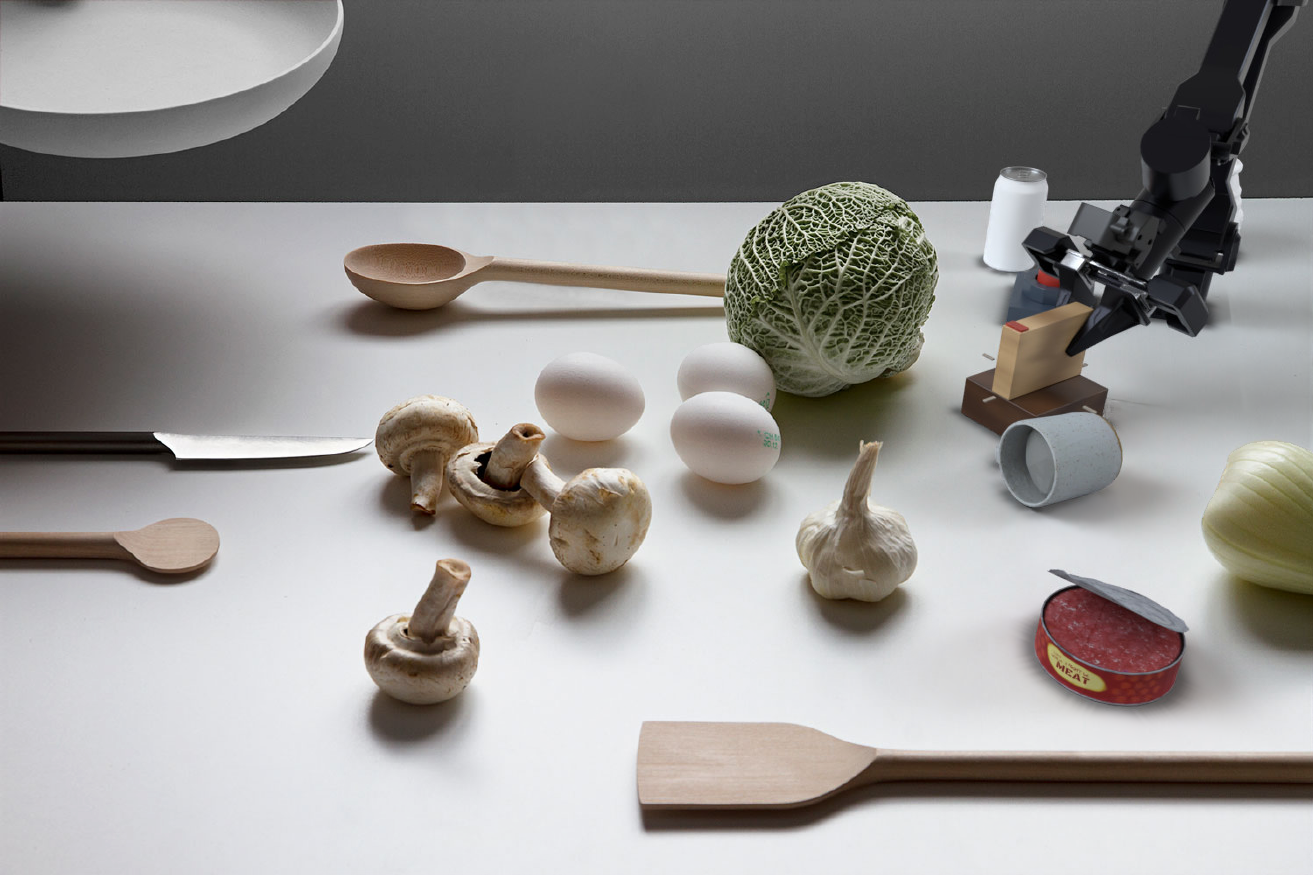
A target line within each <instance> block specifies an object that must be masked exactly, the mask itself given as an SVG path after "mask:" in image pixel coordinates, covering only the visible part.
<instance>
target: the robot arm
mask: <svg viewBox="0 0 1313 875" xmlns="http://www.w3.org/2000/svg"><path fill="white" fill-rule="evenodd" d="M1308 3H1309V0H1223V5H1222V9H1221V11H1220V14H1219V17H1218V19H1217V22H1216V24H1215V27H1214V29H1213V31H1212V33H1211V34H1212V35H1211V37H1210V39H1209V41H1208V44H1207V47H1206V49H1205V51H1204V54H1203V56H1202V59H1201V61H1200V64H1199V66H1198V68H1197V71H1196V72H1195V73H1194V74H1193V75H1191V76H1190V77H1188V78H1187V79H1185V80H1183V81H1182V82H1180V83H1179V84H1178V85H1176V87H1175V90H1174V92H1173V94H1172V96H1171V99H1170V100H1169V102H1168V105H1167V107H1165V106H1162V107H1161V108H1160V109H1159V112H1158V113H1157V115H1156V116H1155V118H1154V119H1153V120H1152V122H1151V123H1150V125H1149V126H1148V127H1147V130H1146V131H1145V132H1144V133H1143V134H1142V137H1141V139H1140V142H1139V143H1140V144H1139V152H1140V153H1139V154H1140V164H1141V165H1140V166H1141V178H1142V185H1143V188H1142V189H1141V191H1140V192H1139V193H1138V194H1137V196H1136V197H1135V198H1134V200H1133V201H1132V202H1131V204H1130V205H1129V206H1127V205H1125V204H1122V203H1121V204H1120V205H1118V206H1116V207H1115V208H1114V209H1113V211H1109V210H1108V209H1107V210H1106V209H1104V208H1101V207H1098V206H1095V205H1093V204H1090V203H1087V202H1084V201H1081V203H1080V205H1079V207H1078V209H1077V211H1076V213H1075V215H1074V217H1073V219H1072V222H1071V224H1070V225H1069V228H1068V230H1067V232H1066V234H1065V233H1062V232H1060V231H1057V230H1056V229H1052V228H1049V227H1047V226H1045V225H1042V226H1041V227H1037V228H1034V229H1033V230H1032V231H1031V232H1030V233H1029V234H1028V236H1027V237H1026V238H1025V240H1024V241H1023V242H1022V244H1021V245H1022V246H1023V248H1024V249H1025V250H1026V252H1027V253H1028V254H1029V256H1030V257H1031V258H1032V260H1033V261H1034V263H1035V266H1037V269H1040V270H1041V271H1042V272H1044V273H1045V274H1046V275H1049V276H1051V277H1053V278H1056V279H1058V280H1059V284H1060V285H1059V292H1058V297H1057V302H1056V305H1055V308H1058V307H1061V306H1064V305H1067V304H1071V303H1074V302H1079V303H1081V304H1083V305H1085V306H1088V307H1090V308H1091V307H1092V308H1093V305H1094V304H1096V302H1097V301H1098V300H1097V298H1096V296H1095V294H1094V295H1093V294H1092V292H1091V291H1090V289H1091V287H1092V286H1093V284H1094V283H1095V284H1096V283H1099V284H1101V285H1103V286H1104V289H1103V292H1102V296H1101V299H1100V301H1099V304H1098V305H1097V307H1096V308H1095V309H1094V312H1093V313H1092V314H1091V316H1090V317H1089V318H1088V319H1087V321H1086V322H1085V323H1084V324H1083V326H1082V327H1081V328H1080V330H1079V331H1078V332H1077V333H1076V335H1075V336H1074V337H1073V339H1072V340H1071V342H1070V343H1069V345H1068V347H1067V348H1066V350H1065V353H1066V354H1067V355H1068V356H1069V357H1073V356H1075V355H1077V354H1079V353H1081V352H1083V351H1085V350H1086V351H1087V350H1089V349H1090V348H1092V347H1094V346H1096V345H1098V344H1100V343H1102V342H1103V341H1106V340H1107V339H1109V338H1112V337H1114V336H1116V335H1118V334H1120V333H1123V332H1125V331H1127V330H1130V329H1132V328H1134V327H1137V326H1140V325H1141V326H1143V327H1149V325H1150V324H1151V323H1152V322H1151V320H1150V318H1156V319H1164V320H1165V321H1166V325H1167V327H1168V328H1170V329H1172V330H1173V331H1177V332H1178V333H1182V334H1184V335H1185V336H1187V337H1191V338H1197V336H1198V335H1199V333H1200V332H1201V331H1202V330H1203V329H1204V327H1205V326H1206V324H1208V321H1209V316H1210V312H1209V307H1208V304H1207V298H1208V295H1209V292H1210V287H1211V284H1212V279H1213V275H1214V274H1218V275H1219V276H1224V275H1225V273H1231V272H1234V271H1235V268H1236V264H1237V261H1238V257H1239V252H1240V246H1241V240H1242V236H1241V235H1240V232H1239V233H1238V231H1239V229H1238V224H1239V223H1237V222H1234V219H1235V215H1236V212H1237V205H1236V202H1235V198H1234V195H1233V191H1232V188H1231V185H1230V180H1231V177H1232V173H1233V170H1234V167H1235V163H1236V160H1237V159H1238V157H1239V156H1240V154H1241V153H1242V151H1243V150H1244V148H1245V147H1246V146H1247V144H1248V142H1249V139H1250V135H1251V132H1250V130H1249V128H1248V127H1249V121H1250V117H1251V115H1252V114H1251V113H1252V111H1253V108H1254V104H1255V101H1256V97H1257V94H1258V91H1259V88H1260V85H1261V81H1262V78H1263V74H1264V72H1265V68H1266V65H1267V61H1268V58H1269V56H1270V52H1271V48H1272V46H1273V45H1275V44H1276V43H1277V42H1278V41H1279V40H1280V39H1281V38H1282V37H1283V36H1284V35H1285V34H1286V33H1287V32H1288V31H1289V30H1290V29H1291V28H1292V27H1293V26H1294V25H1295V23H1296V21H1297V17H1298V15H1299V11H1300V8H1301V7H1306V6H1307V5H1308ZM1071 236H1072V237H1080V238H1083V239H1085V240H1084V242H1083V243H1082V245H1083V246H1084V247H1085V249H1086V250H1087V251H1088V252H1091V256H1088V255H1087V254H1084V253H1082V252H1081V250H1080V249H1079V248H1078V247H1077V245H1076V243H1075V242H1074V240H1073V239H1072V238H1071ZM1219 253H1221V254H1223V255H1218V254H1219ZM1157 271H1158V274H1155V273H1157ZM1055 308H1054V309H1055Z"/></svg>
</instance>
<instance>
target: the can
mask: <svg viewBox="0 0 1313 875" xmlns="http://www.w3.org/2000/svg"><path fill="white" fill-rule="evenodd" d="M1047 178H1048V174H1047V173H1046V172H1045V171H1043V170H1041V169H1038V168H1034V167H1029V166H1007V167H1004V168H1002V169H1000V171H999V176H998V178H997V179H996V181H995V183H994V187H993V193H992V198H991V203H990V204H991V205H990V213H989V217H988V223H987V224H988V225H987V230H986V236H985V244H984V250H983V263H985V265H986V266H987V267H989V268H990V269H993V270H995V271H997V272H1003V273H1013V274H1014V273H1015V274H1017V272H1025V273H1026V272H1029V271H1031V270H1032V269H1033V267H1035V266H1036V264H1035V263H1034V261H1033V260H1032V258H1031V257H1030V256H1029V254H1028V253H1027V252H1026V250H1025V249H1024V248H1023V246H1022V245H1021V244H1022V242H1023V241H1024V240H1025V238H1026V237H1027V236H1028V234H1029V233H1030V232H1031V231H1032V230H1033V229H1034V228H1037V227H1041V226H1043V222H1044V216H1045V211H1046V207H1047V206H1046V204H1047V200H1048V193H1049V185H1048V182H1047Z"/></svg>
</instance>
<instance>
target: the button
mask: <svg viewBox="0 0 1313 875" xmlns="http://www.w3.org/2000/svg"><path fill="white" fill-rule="evenodd" d="M1038 269H1039V268H1038ZM1037 281H1038V282H1039V283H1041V284H1044V285H1046V286H1051V287H1058V288H1059V285H1060V284H1059V280H1058V279H1056V278H1053V277H1051V276H1049V275H1046V274H1045V273H1044V272H1042V271H1041V270H1040V269H1039V273H1038V278H1037Z"/></svg>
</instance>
